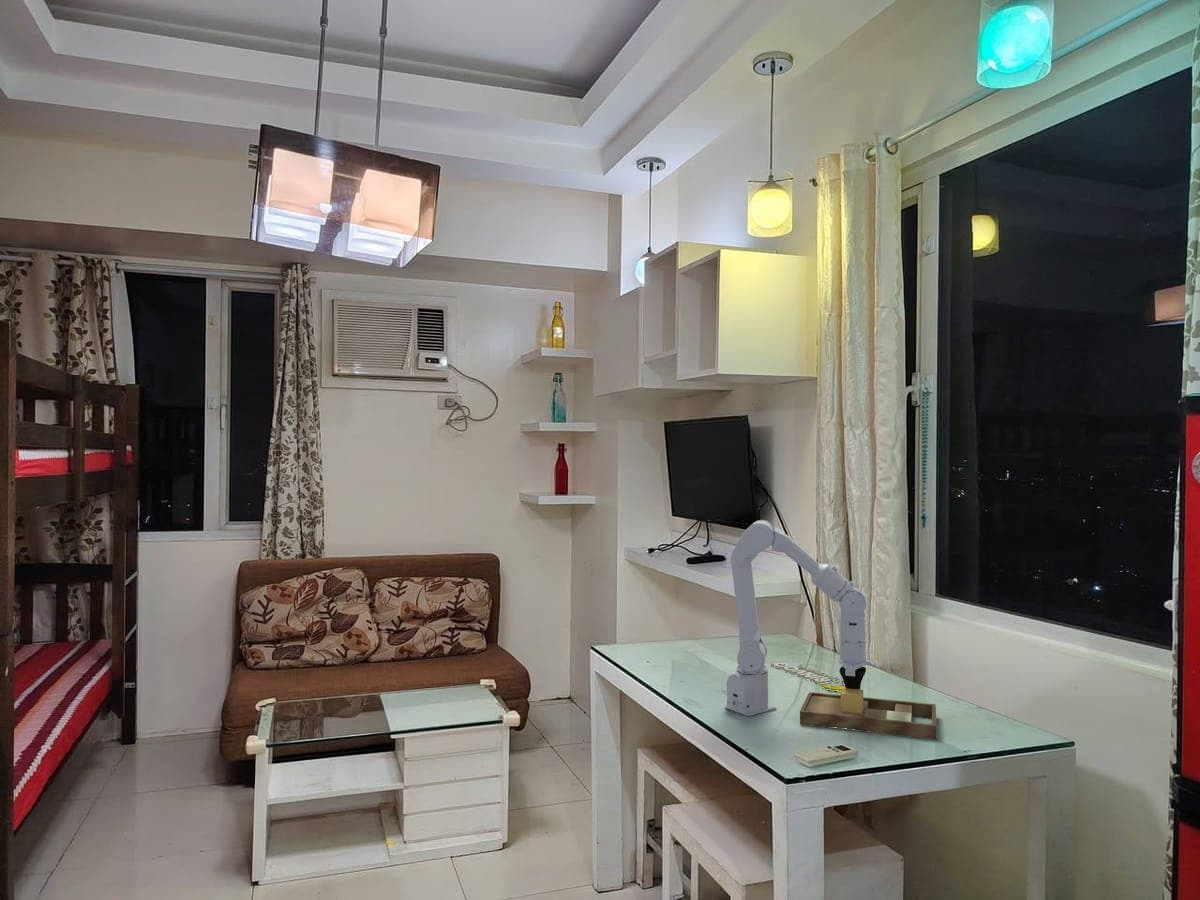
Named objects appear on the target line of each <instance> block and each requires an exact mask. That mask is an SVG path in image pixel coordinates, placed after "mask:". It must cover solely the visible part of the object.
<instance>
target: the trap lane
mask: <svg viewBox="0 0 1200 900" xmlns="http://www.w3.org/2000/svg"><path fill="white" fill-rule="evenodd" d="M912 715H914V716H912ZM920 716H922V717H923V718H930V717H931V723H925V722H918V721H917V722H915V721H913V717H920ZM801 724H802V725H801ZM799 725H801V726H803V725H804V726H810V725H815V726H814V727H819V726H825V727H824V728H828V727H837V728H847V729H855V730H862V731H861V732H864V731H870V732H869V733H873V732H878V733H877V734H882V733H885V734H884V735H891V734H892V735H894V736H900V735H902V737H909V736H911V738H918V737H919V739H920V738H921V739H927V738H930V739H929V740H936V739H937V707H936V703H926V702H916V701H906V700H896V699H885V698H875V697H865V696H863V712H862V714H861V713H851V712H842V711H841V694H835V693H823V692H822V693H821V692H812V691H808V694H807V696H806V698H805V700H804V702H803V704H802V706H801V708H800V710H799ZM837 728H836V729H837ZM855 730H854V731H855ZM937 740H938V739H937Z"/></svg>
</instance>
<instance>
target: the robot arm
mask: <svg viewBox="0 0 1200 900" xmlns="http://www.w3.org/2000/svg"><path fill="white" fill-rule="evenodd" d="M770 547H771V550H770V551H771V552H778V553H783V554H785V555H786V556H787V557H789V559H791V560H792V561H794V562H795V563H796V564H797V565H798V566H800V567H801V568H802V569H804V570H805V571H806V572H807V573H808V574H810V576H811V577H810V580H811V583H812V584H813V585H814V586H815V587H817V588H818V589H819V590H820V591H821V593H823V594H824V595H826V596H827V597H828V598H829V599H830V600H832V601H834V602H838V606H839V609H840V618H839V621H838V622H839V657H838V663H839V664H840V665H841V667H839V674H840V677H841V678H842V681H844V684H845V688H848V689H859V690H861V686H862V681H863V679H864V677H865V675H866V672H867V668H866V666H871V665H872V660H871V659H867V657H866V652H867V650H866V648H867V647H866V645H867V644H866V643H867V642H866V636H867V635H866V620H865V618H866V614H865V610H866V609H867V605H868V604H867V602H866V597H865V595H864V593H863V592H862V590H861V589H860V588H859V586H856V585H855V583H854V582H853V581H852V580H850V581H849V580H848V579H847V578H845V577H844V576H843V575H842V574H841V573H840V572H838V567H837V566H836V565H832V566H831V565H830V564H829V563H819V562H818V561H817V560H816V559H814V558H813V557H812V556H811V555H810V554H809V553H808V552H807V551H806V550H805V549H804V548H802V547H801V546H800V545H799V544H798V543H797V541H795V540H793V538H791V537H790V536H789V535H788V534H786V532H784V531H783V530H781V529H780V528H778V527H774V525H773V524H772V523H771V522H769V521H768V520H763V519H760V520H755V521H754V522H753V523H751V525H749V526H748V527H747V528H746V529H745V530H744V531H743V533H742V534H741V536H740V538H739V540H738V541H737V543H736V545H735V547H734V549H733V551H732V552H731V554H730V563H731V565H730V566H731V572H732V582H733V589H734V597H735V604H736V605H735V606H736V614H737V622H738V623H737V624H738V631H739V639H738V641H739V642H738V643H739V651H738V653H737V657H736V658H737V659H736V660H737V664H738V665H737V666H736V671H734V673H733V674H730V675H729V676H728V677H727V680H726V704H725V705H724V708H725V709H728V710H730V711H731V712H735V713H739V714H741V715H743V716H745V717H746V716H747V717H750V716H754V715H757V714H760V713H761V714H762V713H764V712H769V711H773V710H776V709H777V706H776V705H772V704H769V668H768V667H767V666H766V665H765V664H766V658H767V654H768V651H767V650H768V648H767V646H766V644H765V643H764V641H763V639H762V633H761V630H760V623H759V617H758V616H759V615H758V607H757V599H756V593H755V592H756V591H755V584H754V575H753V569H752V562H753V560H755V559H756V557H757V556H758V555H759V554H761V552H764V551H765V550H768V548H770Z"/></svg>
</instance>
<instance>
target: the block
mask: <svg viewBox="0 0 1200 900" xmlns="http://www.w3.org/2000/svg"><path fill="white" fill-rule="evenodd" d="M840 695H841V711H842V712H851V713H861V714H862V712H863V697H864V689H860V690H859V689H848V688H842V691H841V692H840Z"/></svg>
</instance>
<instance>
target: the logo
mask: <svg viewBox="0 0 1200 900" xmlns="http://www.w3.org/2000/svg"><path fill="white" fill-rule="evenodd" d="M770 667H772V668H775V669H776V668H777V669H776V670H781V669H784V671H785V672H784V673H787V672H789V673H788V674H790V675H792V674H796V675H797V676H800V677H805V678H804V680H805V679H809V680H810V681H812V680H814V681H812V682H813V683H814V682H816V683H819V684H820V683H825V682H830V683H831V681H830V680H829V679H832V680H833V679H835V681H837V680H839V681H840V677H838V676H834V675H831V674H827V673H825V672H822V671H821V670H820V671H819V670H817V669H813V668H812V667H808V666H806V665H803V664H798V665H797V667H796V666H790V665H789V664H788V663H785V662H777V663H773V662H771V663H770ZM799 669H803V670H799ZM805 670H806V671H807V672H811V673H807V672H806V671H805ZM812 673H814V674H817V675H814V674H812ZM818 675H820V676H818ZM797 676H796V677H797ZM821 676H824V677H828V678H829V679H825V678H823V677H821ZM800 677H799V678H800ZM809 680H808V681H809ZM810 681H809V682H810ZM835 681H834V682H835ZM842 682H844V681H843V680H841V683H842ZM816 683H815V684H816ZM821 686H822V687H824V688H825V689H831V690H839V691H840V690H841V691H842V688H845V685H843V684H842V685H827V684H821V685H820V687H821Z"/></svg>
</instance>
